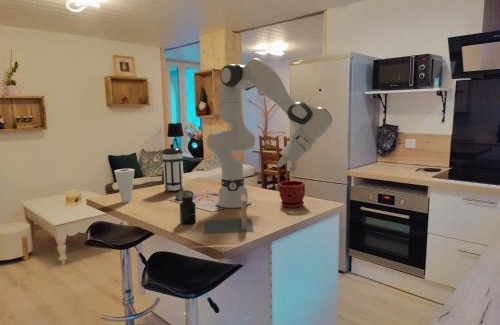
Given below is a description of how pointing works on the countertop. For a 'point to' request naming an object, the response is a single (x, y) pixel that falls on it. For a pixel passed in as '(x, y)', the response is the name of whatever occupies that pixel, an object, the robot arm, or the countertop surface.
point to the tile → (243, 212)
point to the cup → (125, 183)
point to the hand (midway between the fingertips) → (278, 165)
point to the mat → (226, 226)
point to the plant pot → (292, 193)
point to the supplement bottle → (187, 210)
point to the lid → (183, 194)
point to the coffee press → (173, 169)
